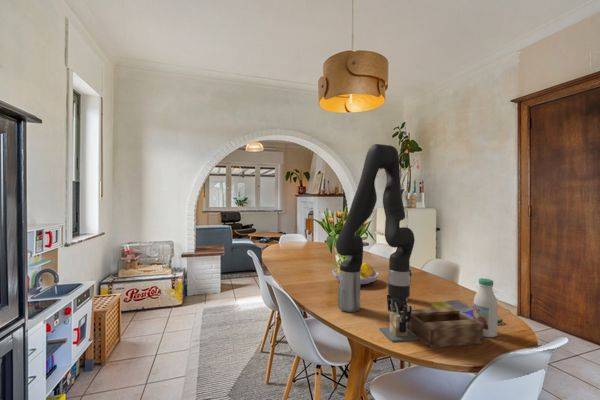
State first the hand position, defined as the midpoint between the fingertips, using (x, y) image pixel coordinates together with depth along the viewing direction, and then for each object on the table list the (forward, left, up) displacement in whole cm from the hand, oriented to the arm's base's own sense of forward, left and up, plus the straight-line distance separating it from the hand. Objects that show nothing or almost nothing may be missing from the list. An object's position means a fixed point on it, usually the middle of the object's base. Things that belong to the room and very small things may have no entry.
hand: (398, 328), depth 109 cm
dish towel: (+38, +13, -3) cm, 41 cm away
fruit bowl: (+9, +68, -3) cm, 69 cm away
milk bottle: (+33, -4, -3) cm, 33 cm away
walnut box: (+16, -3, -2) cm, 16 cm away
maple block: (0, 0, -2) cm, 2 cm away
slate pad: (0, 0, -2) cm, 2 cm away
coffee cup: (+21, +35, -3) cm, 41 cm away
